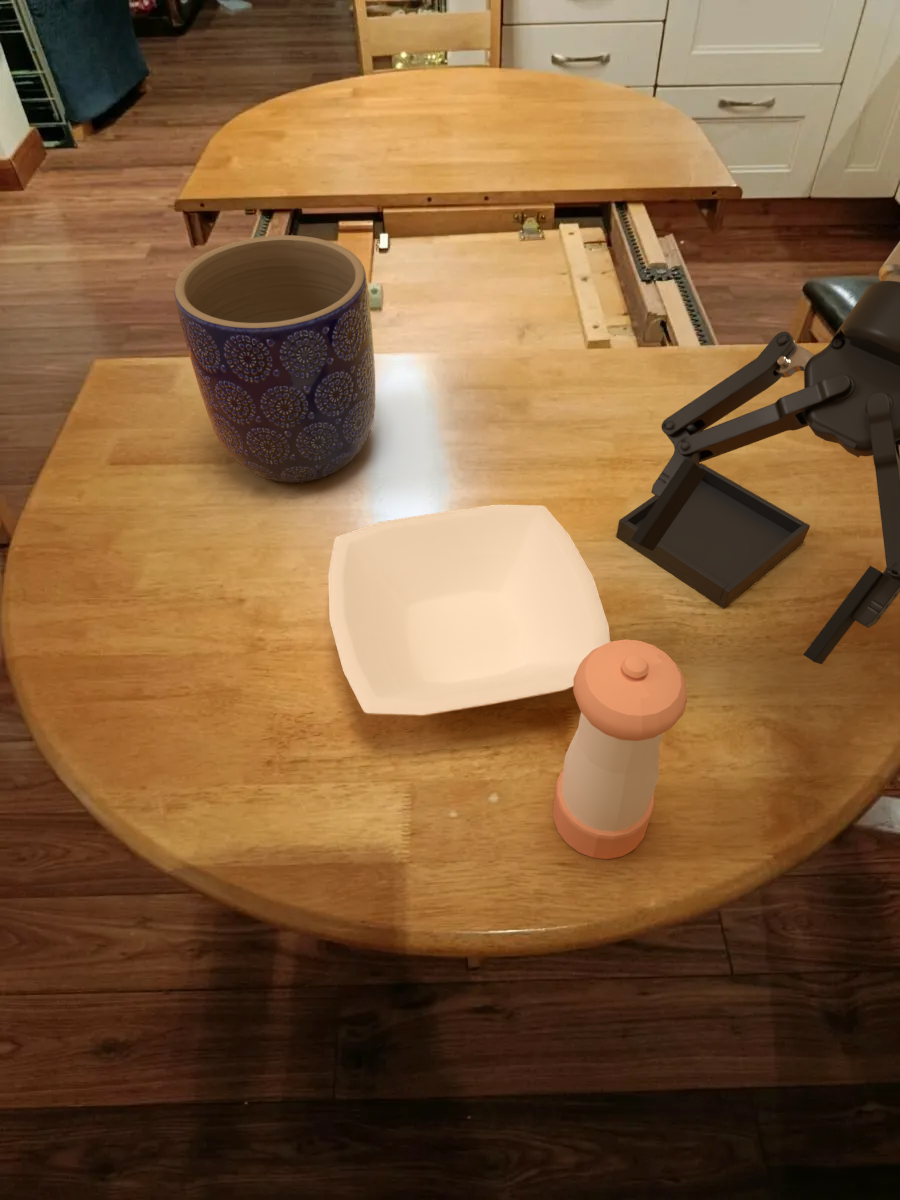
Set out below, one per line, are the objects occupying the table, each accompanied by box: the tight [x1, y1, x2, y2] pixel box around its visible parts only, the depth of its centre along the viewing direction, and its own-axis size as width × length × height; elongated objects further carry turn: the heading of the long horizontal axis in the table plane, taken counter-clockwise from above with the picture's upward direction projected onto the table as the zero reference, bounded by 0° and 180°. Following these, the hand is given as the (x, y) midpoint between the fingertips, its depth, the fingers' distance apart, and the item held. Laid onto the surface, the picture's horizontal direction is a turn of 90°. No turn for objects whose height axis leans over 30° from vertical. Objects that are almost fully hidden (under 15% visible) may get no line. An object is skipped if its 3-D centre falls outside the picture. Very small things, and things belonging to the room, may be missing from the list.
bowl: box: [327, 503, 611, 717], centre depth 75 cm, size 22×23×6 cm
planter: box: [173, 234, 376, 483], centre depth 88 cm, size 18×18×21 cm
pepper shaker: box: [552, 639, 688, 860], centre depth 58 cm, size 7×7×19 cm
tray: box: [615, 462, 811, 609], centre depth 85 cm, size 13×13×2 cm
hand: (721, 599), depth 56 cm, fingers open, 13 cm apart
